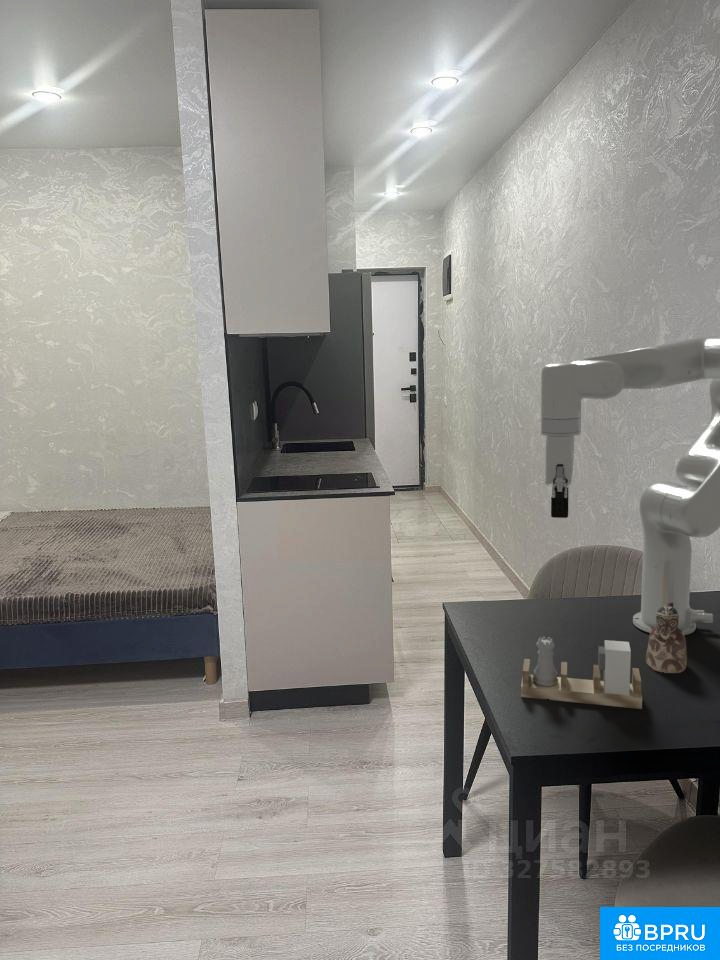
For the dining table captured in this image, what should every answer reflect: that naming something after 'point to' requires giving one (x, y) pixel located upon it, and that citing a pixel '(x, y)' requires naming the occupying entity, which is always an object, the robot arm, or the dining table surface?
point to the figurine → (667, 643)
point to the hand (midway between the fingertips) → (559, 511)
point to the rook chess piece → (545, 664)
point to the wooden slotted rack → (581, 689)
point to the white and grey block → (615, 666)
